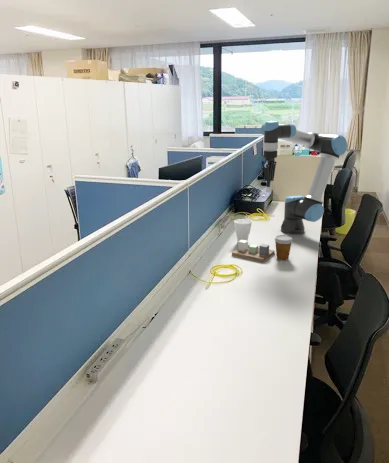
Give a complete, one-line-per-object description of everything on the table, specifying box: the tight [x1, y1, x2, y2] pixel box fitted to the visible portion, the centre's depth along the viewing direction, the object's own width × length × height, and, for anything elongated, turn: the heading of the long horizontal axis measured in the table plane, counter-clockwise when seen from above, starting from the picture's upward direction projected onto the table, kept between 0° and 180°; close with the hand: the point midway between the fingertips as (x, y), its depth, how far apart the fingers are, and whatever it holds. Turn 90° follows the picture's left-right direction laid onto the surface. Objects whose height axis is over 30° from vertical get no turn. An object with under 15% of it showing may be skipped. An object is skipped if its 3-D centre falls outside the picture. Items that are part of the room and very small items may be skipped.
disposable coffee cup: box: [274, 234, 293, 261], centre depth 222 cm, size 10×10×12 cm
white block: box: [237, 240, 249, 251], centre depth 232 cm, size 4×4×5 cm
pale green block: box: [249, 243, 259, 254], centre depth 229 cm, size 4×4×5 cm
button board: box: [231, 244, 276, 263], centre depth 229 cm, size 15×19×2 cm
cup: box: [233, 218, 253, 244], centre depth 247 cm, size 10×10×14 cm
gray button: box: [258, 243, 270, 256], centre depth 225 cm, size 4×4×5 cm
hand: (268, 192), depth 233 cm, fingers closed
